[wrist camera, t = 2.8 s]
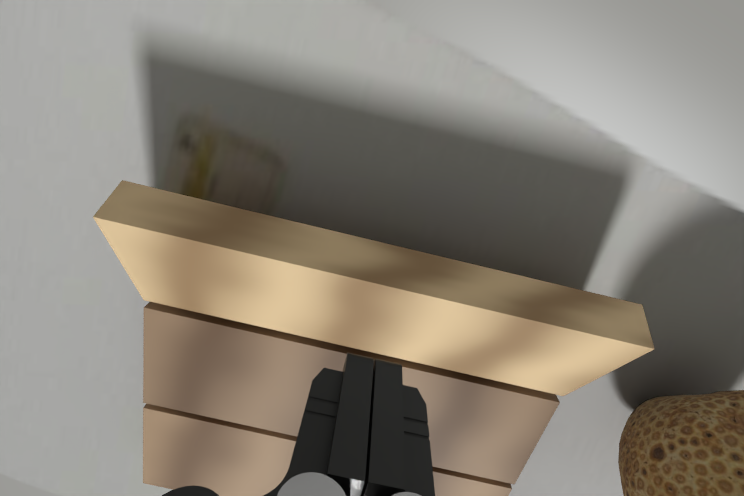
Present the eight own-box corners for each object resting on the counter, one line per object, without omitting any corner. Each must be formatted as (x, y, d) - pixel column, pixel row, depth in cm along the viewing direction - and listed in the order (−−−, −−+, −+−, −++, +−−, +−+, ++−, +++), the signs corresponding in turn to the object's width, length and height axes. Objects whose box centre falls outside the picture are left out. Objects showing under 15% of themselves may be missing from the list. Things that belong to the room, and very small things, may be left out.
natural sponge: (674, 309, 21) (894, 492, 12) (784, 391, 22) (1056, 611, 13) (547, 414, 24) (641, 623, 15) (652, 480, 25) (795, 706, 16)
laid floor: (546, 376, 23) (559, 402, 21) (470, 522, 28) (475, 553, 26) (165, 288, 22) (143, 307, 20) (160, 455, 27) (143, 482, 25)
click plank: (642, 304, 17) (654, 349, 16) (558, 359, 22) (563, 396, 21) (121, 180, 16) (92, 216, 15) (163, 267, 21) (143, 300, 20)
